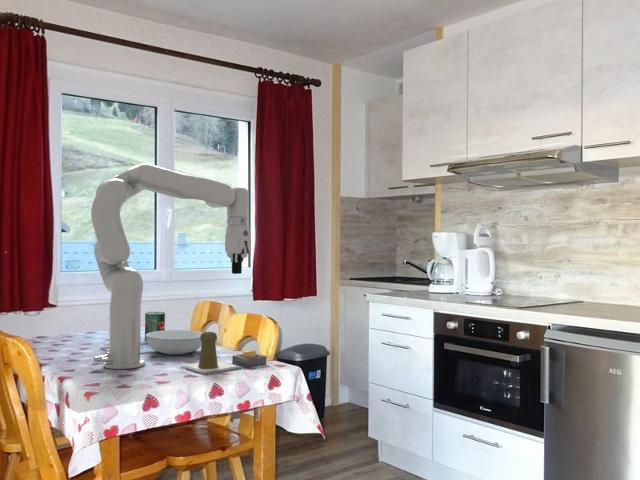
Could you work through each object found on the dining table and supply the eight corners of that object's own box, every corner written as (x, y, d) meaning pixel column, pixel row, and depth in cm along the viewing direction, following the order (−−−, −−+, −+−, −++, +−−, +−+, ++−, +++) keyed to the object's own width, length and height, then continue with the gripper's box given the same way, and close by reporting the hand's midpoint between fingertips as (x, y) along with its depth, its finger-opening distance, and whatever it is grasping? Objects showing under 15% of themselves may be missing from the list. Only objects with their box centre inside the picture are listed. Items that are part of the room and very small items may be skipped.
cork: (220, 365, 188) (220, 330, 188) (214, 369, 182) (215, 333, 182) (201, 364, 189) (202, 330, 189) (195, 368, 183) (196, 333, 183)
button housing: (247, 367, 189) (247, 359, 189) (232, 363, 195) (232, 355, 195) (266, 364, 195) (266, 356, 195) (251, 360, 201) (251, 352, 201)
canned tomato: (143, 338, 242) (143, 312, 242) (162, 337, 245) (163, 311, 245) (146, 341, 235) (146, 314, 235) (166, 340, 238) (166, 313, 238)
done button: (248, 362, 192) (248, 353, 192) (240, 360, 195) (240, 351, 195) (258, 361, 195) (258, 351, 195) (250, 359, 198) (250, 349, 198)
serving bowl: (190, 360, 201) (191, 340, 201) (134, 356, 205) (135, 336, 205) (213, 349, 221) (214, 331, 221) (162, 346, 225) (162, 328, 225)
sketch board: (204, 375, 178) (204, 372, 178) (185, 369, 186) (185, 366, 186) (242, 368, 188) (242, 365, 188) (222, 363, 196) (222, 360, 196)
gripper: (258, 222, 208) (257, 274, 208) (233, 223, 219) (232, 272, 219) (241, 221, 203) (240, 275, 203) (216, 222, 213) (215, 272, 213)
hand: (236, 273), depth 211 cm, fingers closed
